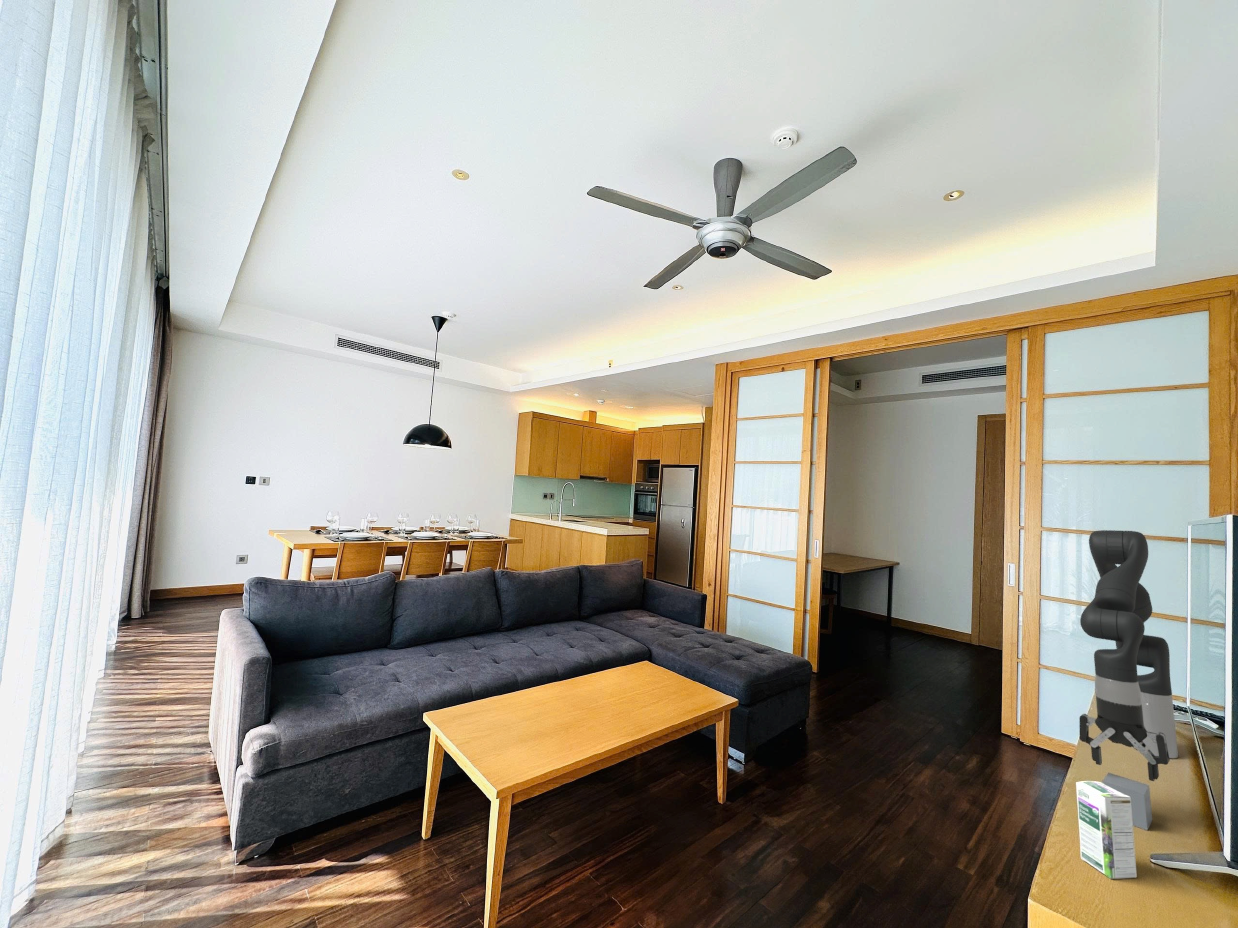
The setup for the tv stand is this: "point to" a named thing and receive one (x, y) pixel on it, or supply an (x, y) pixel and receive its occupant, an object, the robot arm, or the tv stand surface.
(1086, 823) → the syrup box
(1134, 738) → the robot arm
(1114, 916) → the tv stand surface
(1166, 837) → the tv stand surface
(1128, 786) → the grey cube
